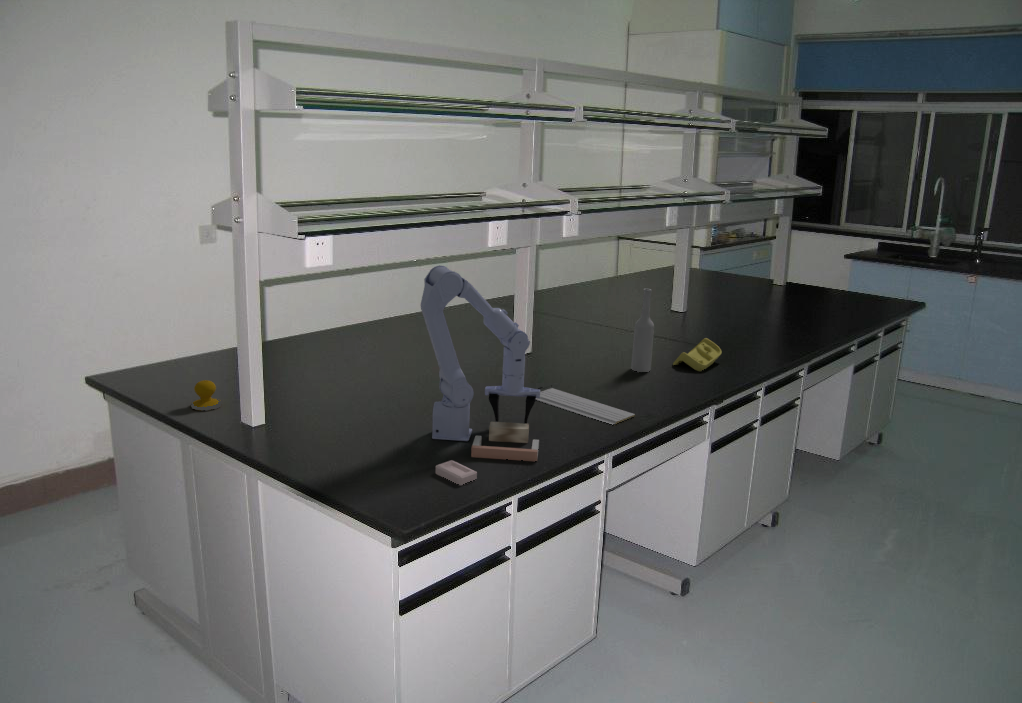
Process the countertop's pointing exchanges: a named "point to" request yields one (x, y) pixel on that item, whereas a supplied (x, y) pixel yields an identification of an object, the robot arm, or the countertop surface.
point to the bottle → (643, 337)
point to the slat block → (508, 432)
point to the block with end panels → (504, 451)
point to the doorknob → (205, 393)
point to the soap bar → (456, 472)
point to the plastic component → (700, 355)
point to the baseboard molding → (583, 406)
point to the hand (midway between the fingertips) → (511, 421)
